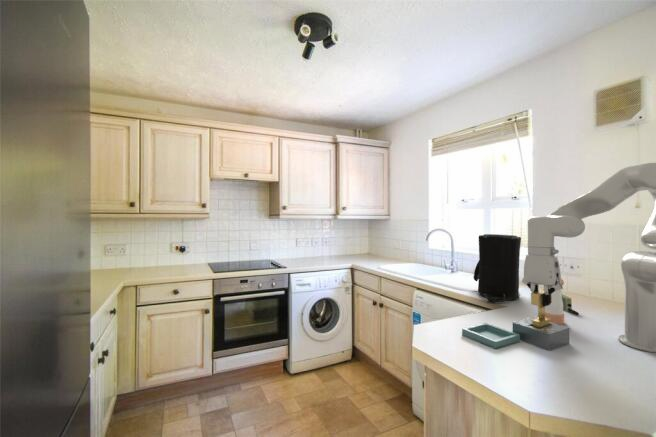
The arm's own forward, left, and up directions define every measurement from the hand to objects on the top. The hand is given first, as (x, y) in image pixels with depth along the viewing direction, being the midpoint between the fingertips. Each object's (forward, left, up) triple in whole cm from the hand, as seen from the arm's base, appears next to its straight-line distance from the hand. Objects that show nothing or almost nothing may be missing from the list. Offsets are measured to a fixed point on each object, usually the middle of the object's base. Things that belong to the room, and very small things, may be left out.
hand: (541, 303), depth 105 cm
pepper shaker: (+9, -26, -13) cm, 30 cm away
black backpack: (+47, -42, -13) cm, 64 cm away
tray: (+9, +14, -13) cm, 21 cm away
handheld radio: (+18, -49, -13) cm, 54 cm away
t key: (0, 0, -8) cm, 8 cm away
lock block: (0, 0, -13) cm, 13 cm away
